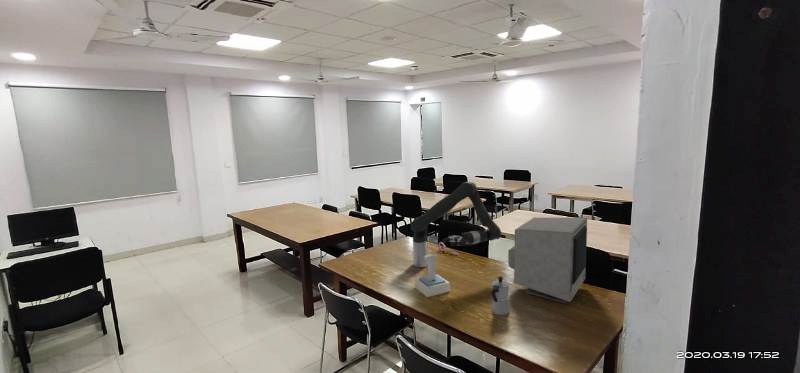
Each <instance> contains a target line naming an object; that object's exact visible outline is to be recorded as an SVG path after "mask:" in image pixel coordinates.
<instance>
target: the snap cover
mask: <svg viewBox="0 0 800 373" xmlns="http://www.w3.org/2000/svg"><path fill="white" fill-rule="evenodd" d="M424 259H425V260H427V271H428V272H427V273H428V275H427V276H421V277H418V278H419V281H421V282H422V283H423V284H425V285H426V286H427V287H429V286H433V285H438V284H442V283H445V280H446V279H445V280H443V279H444V278H443V277H442V278H443V279H442V278H440V277H441V276H440V275H439V276H440V277H439V276H437V275H438V274H437V275H436V259H439V253H433V254H427V255H426V256H424Z"/></svg>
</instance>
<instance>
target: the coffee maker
mask: <svg viewBox="0 0 800 373" xmlns="http://www.w3.org/2000/svg"><path fill="white" fill-rule="evenodd" d="M497 278H498V280H494V281H492V283H491V286H492V291H491V296H492V298H493V299H492V300H493V301H492V307H491V311H492V313H493V314H494V315H497V316H508V315H509V313H510V311H511V310H510V306H509V301H508V298H509V297H508V296H509V289H510V282H507V280H504V279H503V276H501V275H500V276H497Z"/></svg>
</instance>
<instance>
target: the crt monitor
mask: <svg viewBox="0 0 800 373" xmlns="http://www.w3.org/2000/svg"><path fill="white" fill-rule="evenodd" d="M587 237H588V217H532V218H531V219H529V220H527V221H526V222H525V223H523V224H522V225H520V226H518V227H517V228H515V229H514V246H512V247H511V248H509V249H508V251H507V252H508V253H507V255H508V256H507V258H508V259H507V262H508V263H507V264H508V266H509V268H510V269H513V284H516V285H519V286H522V287H525V288H527V289H526V290H525V291H524V293H525V294H528V295H534V296H538V297H540V298H544V299H548V300H551V301H555V302H560V303H564V304H565V303H566V302H568V303H569V302H572V300H573V298H574V297H575V295H576V294H577V292H578V290H579V289H580V287H581V286H582V285H583V283H584V281H585V280H586V267H587V266H586V265H587V241H588V240H587V239H588V238H587Z"/></svg>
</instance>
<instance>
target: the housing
mask: <svg viewBox="0 0 800 373" xmlns="http://www.w3.org/2000/svg"><path fill="white" fill-rule="evenodd" d="M435 274H436V273H435ZM436 275H437V276H439V277H440V278H442V279H443V280H445V283H442V284H438V285H433V286H429V287H427V286H426V285H425V284H423V283H422V282H421V281H419V278H420V277H417V278H415V279H414V288H415V289H416V290H418V291H419V292H420V293H422V295H424V296H425V297H427V298H428V297H434V296H437V295H441V294H444V293H445V294H446V293H450V292H451V284H450V282H449V281H448V280H446V279H445V278H443V277H442V276H440V275H439V274H436Z"/></svg>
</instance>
